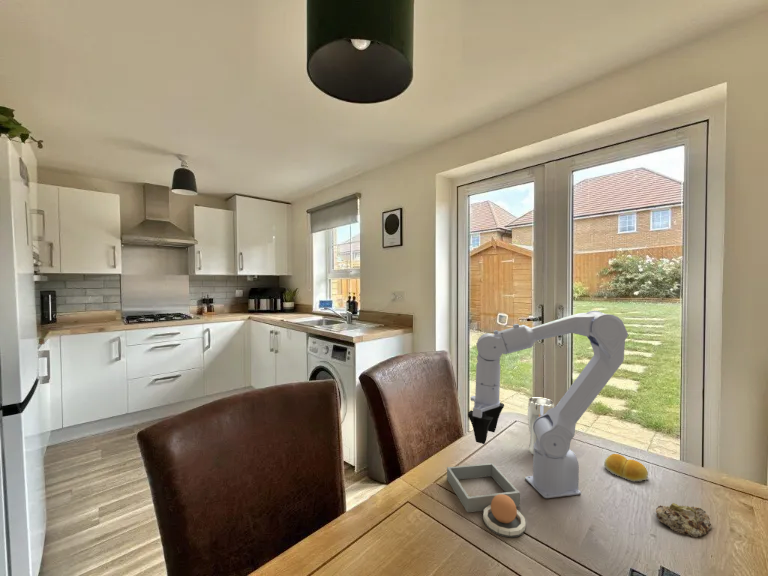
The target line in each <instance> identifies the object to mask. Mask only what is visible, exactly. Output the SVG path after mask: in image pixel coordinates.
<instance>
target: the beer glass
mask: <svg viewBox="0 0 768 576" xmlns="http://www.w3.org/2000/svg"><path fill="white" fill-rule="evenodd" d="M554 407H555V402H554V401H553V400H551V399H549V398H546V397H539V396H533V397H530V398H528V406H527V424H528V430H529V435H530V436H529V440H530V441H529V445H528V446H529V447H528V452H529V454H531V455H533V451H534V443H535V442H536V440H537V436H536V434H535V433H534V430H533V424H534V421H535V420H536V419H537V418H538V417H540V416H542V415H544V414H545V413H546V412H547V411H548V410H549V409H551V408H554Z"/></svg>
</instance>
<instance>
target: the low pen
mask: <svg viewBox="0 0 768 576" xmlns="http://www.w3.org/2000/svg"><path fill="white" fill-rule="evenodd" d="M486 477H492V478H493V480H494V481H495V482H496V483H497V484H498V485H499V487H500V488H501V489H502V490H503V491H504V492H499V493H497V492H496V493H490V494H480V495H479V494H478V495H471V496H470V495H469V494H468V492H467V491H466V490H465V488H464V487H463V486H462V484H461V482H460V481H459V480H468V479H476V478H477V479H478V478H486ZM446 480H447V482H448V483H449V485H450V486H451V488H452V490H453V492H454V493H455V495H456V497H457V498H458V500H459V501H460V503H461V504H462V506H463V508H464V509H465V511H466V512H467V513H474V512H482V511H483V512H484V509H485V508H486V507H487V506H489V505H491V502H492V500H493V498H494V497H495V496H497V495H499V494H504V495H507V496H509V497H510V498H511V499H512V500H513V501H514V503H515V505H516V507H520V505H521V492H520V491H519V490H518V488H516V486H515V485H513V483H512V482H511V481H510V480H509V479H508V478H507V477H506V476H505V475H504V473H503V472H502V471H501V470H500V469H499V468H498V467H497V466H496V464H494V462H489V463H477V464H468V465H467V464H466V465H456V466H447V467H446Z"/></svg>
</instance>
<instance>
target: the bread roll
mask: <svg viewBox="0 0 768 576" xmlns="http://www.w3.org/2000/svg"><path fill="white" fill-rule="evenodd" d="M603 466H604V468H605V469H606V470H607V471H608V472H609V471H610V472H609V473H610V474H612V473H613V475H614V474H615V475H614V476H616V475H617V477H619V476H620V478H623V479H624V478H625V479H624V480H626V479H628V481H629V480H631V481H630V482H635V481H639V482H643V481H642V480H645V481H646V479H647V480H648V478H649V477H648V475H649V471H648V469H647V467H646V466H645V465H644V464H642V463H641V462H640V461H637V460H634V459H627V458H626V457H625V456H624V455H622V454H619V453H613V454H610V455H609V456H607V457H606V459H605V461H604V465H603Z"/></svg>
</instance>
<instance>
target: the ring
mask: <svg viewBox="0 0 768 576" xmlns="http://www.w3.org/2000/svg"><path fill="white" fill-rule="evenodd" d="M482 517H483V518H482V519H483V522H484V525H485V526H486V528H488V529H489V530H490V531H491V532H492V533H494V534H495V535H498V536H501V537H505V538H518V537H520V536H522V535H523V534H524V533H525V530H526V518H525V516H524V515H523V514H522V513H521V512H520V511H519V510H518V509H517V514H516V517H515V519H514V520H513V521H512V522H510V523H502V522H500V521H498V520H497V519H496V518H495V517H494V515H493V514H492V511H491V505H489V506H487V507H486V508H485V509H484V511H483V516H482Z"/></svg>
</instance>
